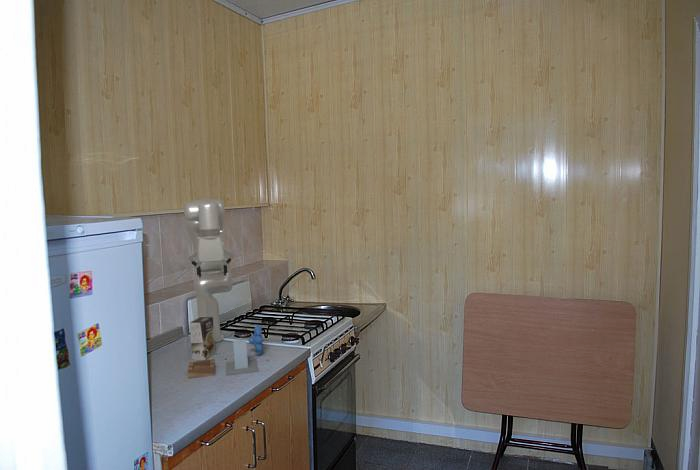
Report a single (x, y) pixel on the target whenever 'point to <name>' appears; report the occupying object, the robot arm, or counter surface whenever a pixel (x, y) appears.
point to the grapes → (257, 340)
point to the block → (240, 354)
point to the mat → (232, 371)
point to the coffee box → (202, 338)
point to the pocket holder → (201, 368)
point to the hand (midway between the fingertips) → (212, 276)
